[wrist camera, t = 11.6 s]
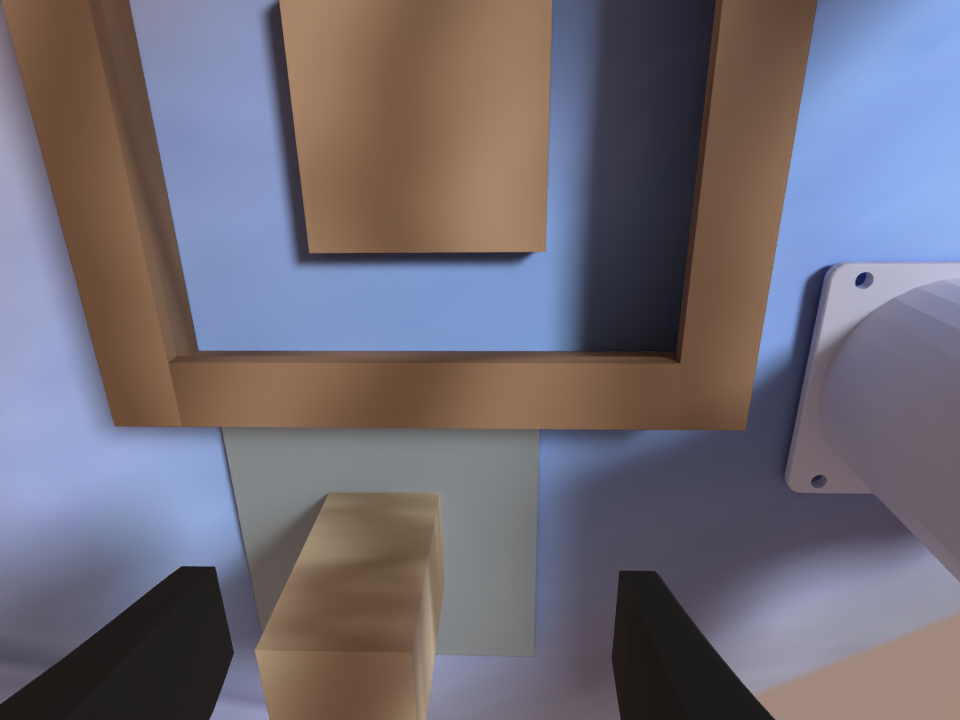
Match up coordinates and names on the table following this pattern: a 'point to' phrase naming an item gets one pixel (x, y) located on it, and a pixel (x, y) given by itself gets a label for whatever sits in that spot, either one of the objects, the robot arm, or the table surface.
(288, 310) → the table surface
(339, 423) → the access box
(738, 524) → the table surface
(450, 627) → the place mat
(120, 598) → the table surface
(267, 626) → the beech block
